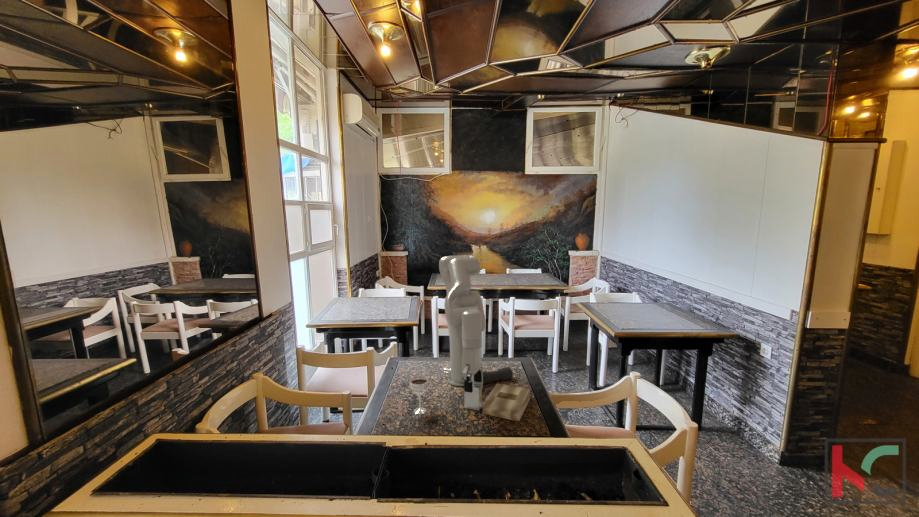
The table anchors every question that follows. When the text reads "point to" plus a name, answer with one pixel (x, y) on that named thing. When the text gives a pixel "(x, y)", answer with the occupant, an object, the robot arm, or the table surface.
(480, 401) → the block
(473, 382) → the round bit
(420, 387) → the wineglass
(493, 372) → the flashlight
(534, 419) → the table surface
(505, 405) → the socket block
